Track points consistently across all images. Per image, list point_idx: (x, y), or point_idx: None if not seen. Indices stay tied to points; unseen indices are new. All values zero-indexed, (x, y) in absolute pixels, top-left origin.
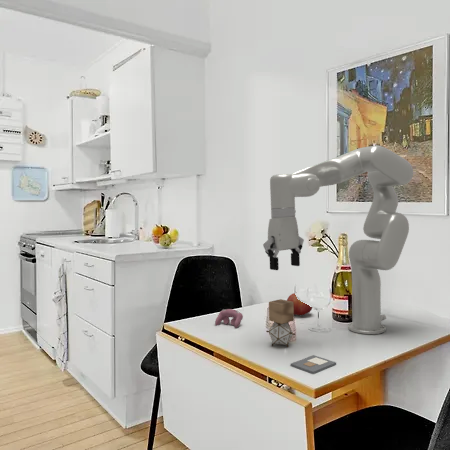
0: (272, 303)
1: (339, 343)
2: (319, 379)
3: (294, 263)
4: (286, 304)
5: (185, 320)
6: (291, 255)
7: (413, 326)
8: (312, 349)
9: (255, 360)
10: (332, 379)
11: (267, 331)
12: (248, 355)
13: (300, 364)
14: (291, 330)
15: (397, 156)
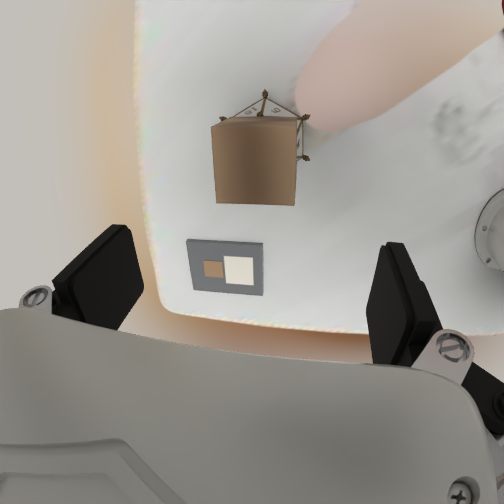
0: (213, 149)
1: (387, 234)
2: (188, 303)
3: (377, 289)
4: (248, 201)
5: None
6: (399, 315)
7: None
8: (304, 212)
9: (148, 170)
10: (205, 315)
11: (222, 120)
12: (153, 135)
13: (199, 257)
14: (297, 158)
15: None
